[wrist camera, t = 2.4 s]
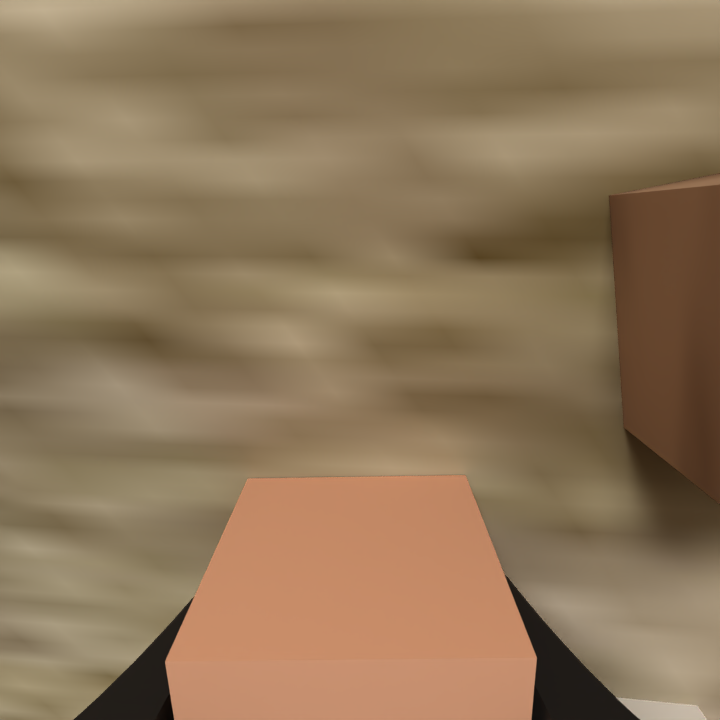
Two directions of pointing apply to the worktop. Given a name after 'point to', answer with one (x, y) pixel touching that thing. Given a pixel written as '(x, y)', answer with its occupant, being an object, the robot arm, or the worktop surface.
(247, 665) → the terracotta cube
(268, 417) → the worktop surface
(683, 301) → the walnut cube
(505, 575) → the robot arm
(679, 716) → the beige cube
